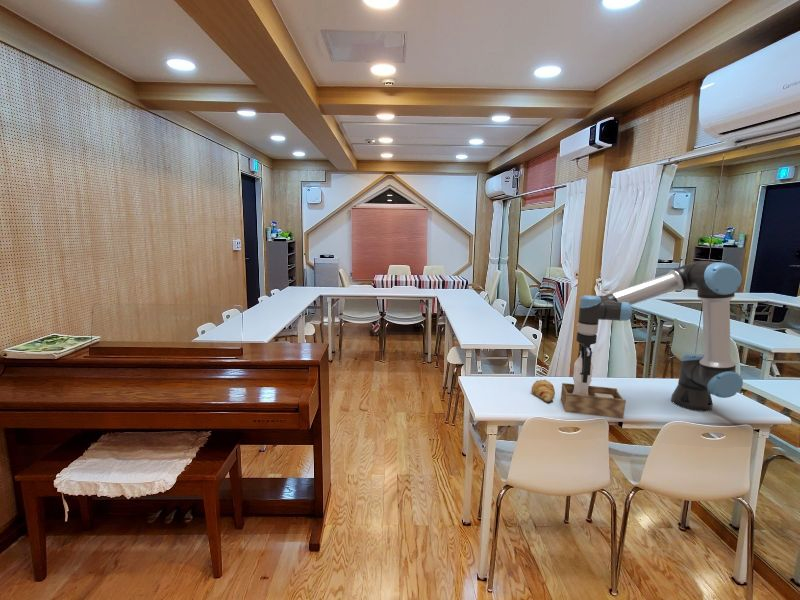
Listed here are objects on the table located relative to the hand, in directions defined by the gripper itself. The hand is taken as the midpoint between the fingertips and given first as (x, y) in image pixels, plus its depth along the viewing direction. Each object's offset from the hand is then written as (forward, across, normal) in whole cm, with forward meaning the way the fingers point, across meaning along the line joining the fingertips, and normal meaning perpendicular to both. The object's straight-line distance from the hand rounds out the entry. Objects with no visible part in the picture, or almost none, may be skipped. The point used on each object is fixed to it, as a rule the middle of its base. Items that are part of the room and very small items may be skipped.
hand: (581, 385), depth 173 cm
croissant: (+11, -13, -14) cm, 22 cm away
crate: (+10, 0, +4) cm, 11 cm away
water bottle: (+8, 0, 0) cm, 8 cm away
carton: (+9, 0, +10) cm, 14 cm away
